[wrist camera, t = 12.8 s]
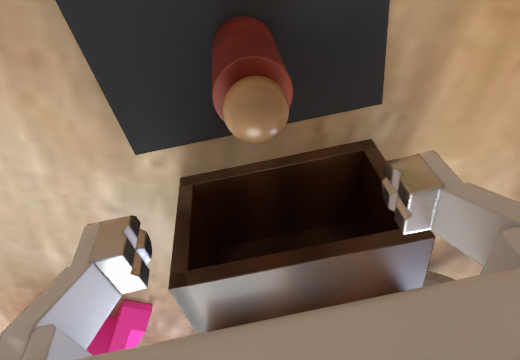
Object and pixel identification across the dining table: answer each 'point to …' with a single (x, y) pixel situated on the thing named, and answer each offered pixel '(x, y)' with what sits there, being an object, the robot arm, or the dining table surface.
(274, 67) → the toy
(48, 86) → the dining table surface
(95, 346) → the bracket
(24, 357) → the robot arm
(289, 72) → the felt mat
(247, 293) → the open-top box
